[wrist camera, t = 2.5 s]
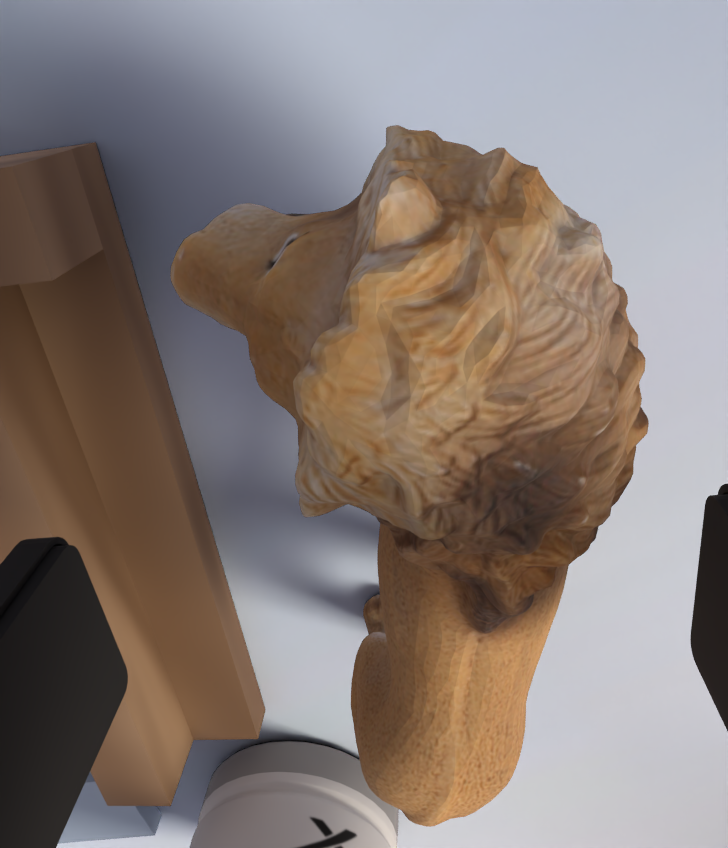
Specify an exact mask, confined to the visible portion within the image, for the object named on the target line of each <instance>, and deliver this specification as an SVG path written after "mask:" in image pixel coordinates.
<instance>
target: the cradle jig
mask: <svg viewBox="0 0 728 848" xmlns="http://www.w3.org/2000/svg"><path fill="white" fill-rule="evenodd" d="M48 537H61V538H63V539H65V540H66V541H67V543H68V544H69V545H73V546H75V547H76V548H77V549H78V551H79V552H80V555H81V557H82V560H83V562H84V565H85V567H86V569H87V572H88V574H89V577H90V579H91V582H92V584H93V587H94V589H95V591H96V594H97V596H98V599H99V601H100V604H101V606H102V609H103V611H104V613H105V616H106V618H107V621H108V623H109V626H110V628H111V631H112V633H113V636H114V638H115V640H116V643H117V645H118V648H119V650H120V653H121V655H122V658H123V660H124V662H125V665H126V668H127V672H128V684H127V689H126V692H125V695H124V697H123V699H122V701H121V704H120V706H119V708H118V710H117V713H116V715H115V717H114V719H113V721H112V724H111V726H110V728H109V730H108V733H107V735H106V737H105V739H104V742H103V744H102V746H101V748H100V750H99V753H98V755H97V757H96V759H95V762H94V764H93V766H92V768H91V771H90V772H91V774H92V776H93V778H94V780H95V782H96V784H97V786H98V788H99V790H100V792H101V794H102V796H103V798H104V800H105V802H106V804H107V806H171V804H172V801H173V798H174V795H175V792H176V789H177V786H178V783H179V780H180V777H181V775H182V772H183V769H184V766H185V763H186V760H187V757H188V754H189V751H190V749H191V746H192V743H193V740H223V739H258V737H259V733H260V729H261V725H262V721H263V717H264V713H265V707H264V703H263V700H262V697H261V693H260V690H259V687H258V683H257V680H256V677H255V673H254V670H253V666H252V663H251V660H250V656H249V653H248V650H247V646H246V643H245V640H244V636H243V633H242V630H241V626H240V623H239V620H238V616H237V613H236V610H235V606H234V603H233V600H232V596H231V593H230V590H229V586H228V583H227V580H226V576H225V573H224V570H223V566H222V563H221V560H220V556H219V553H218V550H217V546H216V543H215V540H214V536H213V533H212V529H211V526H210V523H209V519H208V516H207V513H206V509H205V506H204V503H203V499H202V496H201V493H200V489H199V486H198V483H197V479H196V476H195V473H194V469H193V466H192V463H191V459H190V456H189V453H188V449H187V446H186V443H185V439H184V436H183V433H182V429H181V426H180V423H179V419H178V416H177V413H176V409H175V406H174V402H173V399H172V396H171V392H170V389H169V386H168V382H167V379H166V376H165V372H164V369H163V366H162V362H161V359H160V356H159V352H158V349H157V346H156V342H155V339H154V336H153V332H152V329H151V326H150V322H149V319H148V316H147V312H146V309H145V306H144V302H143V299H142V296H141V292H140V289H139V286H138V282H137V279H136V276H135V272H134V269H133V265H132V262H131V259H130V255H129V252H128V249H127V245H126V242H125V239H124V235H123V232H122V229H121V225H120V222H119V219H118V215H117V212H116V209H115V205H114V202H113V199H112V195H111V192H110V189H109V185H108V182H107V179H106V175H105V172H104V169H103V165H102V162H101V159H100V155H99V152H98V149H97V145H96V142H94V143H87V144H80V145H73V146H67V147H60V148H53V149H46V150H39V151H32V152H25V153H19V154H12V155H5V156H0V564H1V563H2V562H3V561H4V559H5V558H6V557H7V556H8V554H9V553H10V552H11V551H12V549H13V548H14V547H15V546H16V545H17V544H18V543H19V542H20V541H22V540H25V539H35V538H48Z"/></svg>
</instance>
